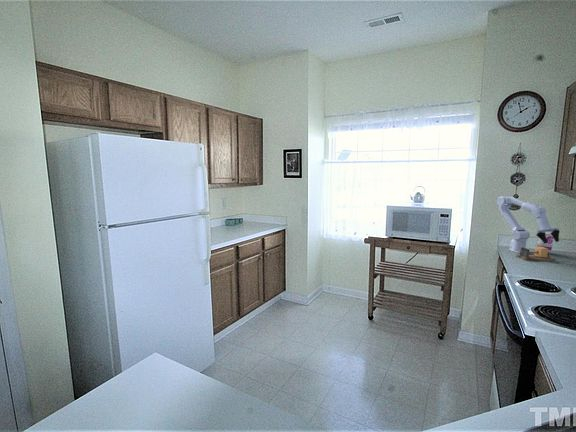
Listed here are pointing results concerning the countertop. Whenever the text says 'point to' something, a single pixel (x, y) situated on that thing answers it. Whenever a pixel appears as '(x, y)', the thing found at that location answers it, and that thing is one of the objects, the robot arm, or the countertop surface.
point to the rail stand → (533, 256)
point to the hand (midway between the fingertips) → (551, 242)
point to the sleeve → (541, 251)
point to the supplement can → (549, 240)
